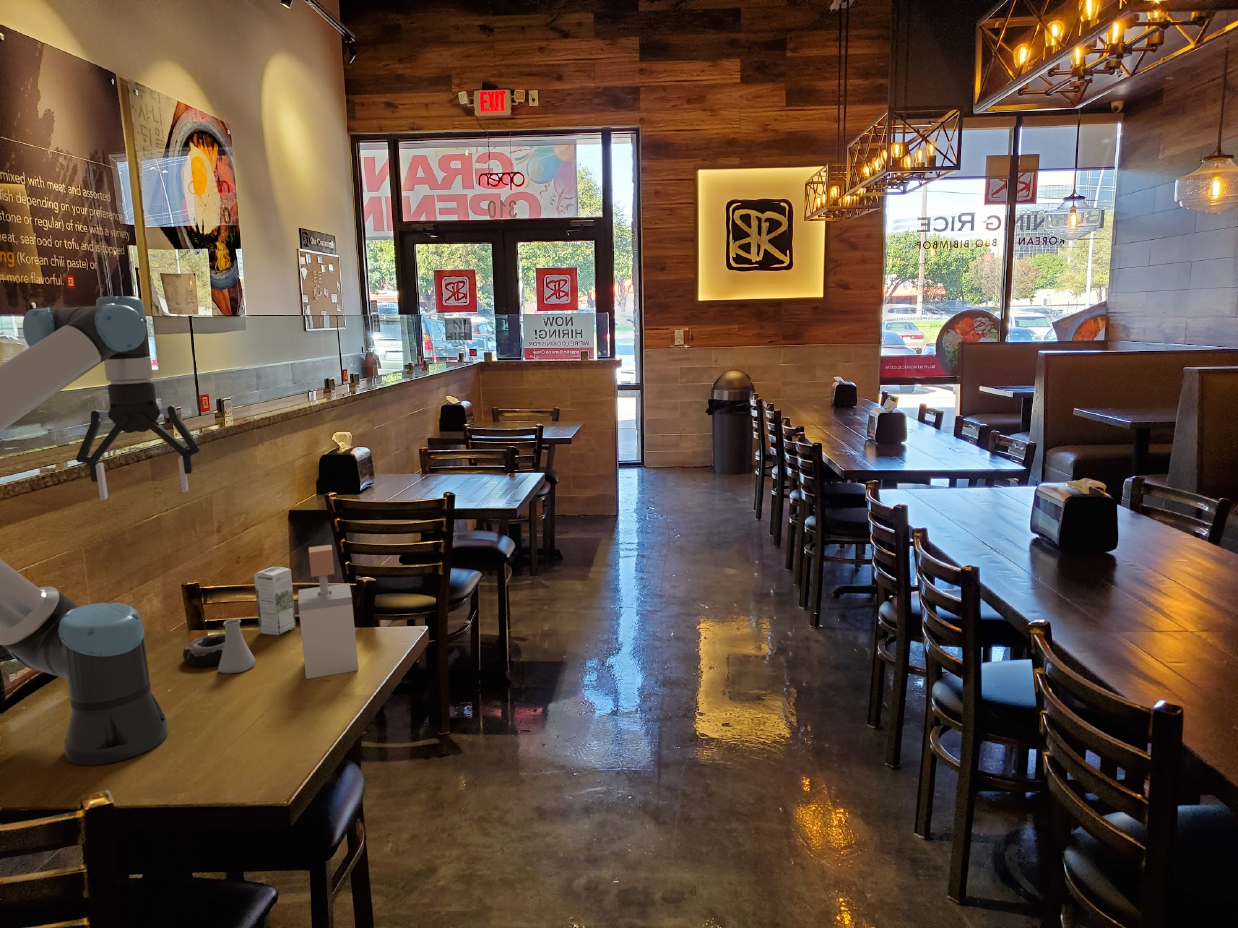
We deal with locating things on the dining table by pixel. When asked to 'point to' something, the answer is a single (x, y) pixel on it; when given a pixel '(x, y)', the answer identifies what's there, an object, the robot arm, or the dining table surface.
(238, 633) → the flask
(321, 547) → the pump plunger
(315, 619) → the slotted white box
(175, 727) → the dining table surface
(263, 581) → the syrup box
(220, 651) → the donut
